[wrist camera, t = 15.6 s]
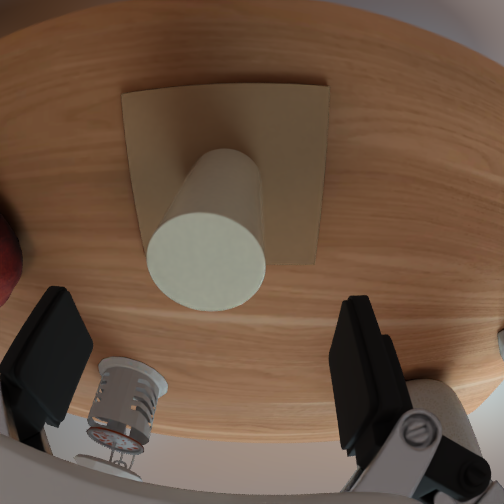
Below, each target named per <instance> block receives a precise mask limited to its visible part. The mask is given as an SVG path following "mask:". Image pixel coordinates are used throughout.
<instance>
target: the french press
mask: <svg viewBox="0 0 504 504" xmlns="http://www.w3.org/2000/svg"><path fill="white" fill-rule="evenodd" d="M98 366H99V373H100V375H101V376H102V378H101V382H100V384H101V385H100V384H99V387H98V390H97V392H98V393H97V392H96V396H95V398H94V400H95V402H94V401H93V405H92V407H91V409H90V413H89V416H88V419H87V421H88V424H89V425H90V426H91V427H90V428H89V429H88V430H87V431H86V432H87V434H88V435H89V437H90V438H91V439H93V440H94V441H96V442H98V444H99V443H100V444H101V445H104V447H105V446H106V447H107V448H109V449H111V450H112V452H111V456H110V460H109V461H106V460H103V459H100V458H96V457H93V456H89V455H82V454H78V455H76V456H75V457H74V459H75V461H76V462H77V464H78V465H81V466H84V467H87V468H90V469H94V470H97V471H100V472H104V473H107V474H111V475H115V476H119V477H123V478H127V479H131V480H136V481H140V482H142V479H141V478H140V476H138V475H137V474H136V473H134V472H132V471H131V470H130V469H131V467H132V465H133V461H134V457H135V455H139V454H141V453H143V452H144V447H143V446H142V445H145V444H146V443H148V442H149V438H150V431H151V429H152V422H153V419H154V413H155V410H156V405H157V401H158V398H159V397H161V396H162V395H164V394H165V393H167V389H168V385H167V383H166V381H165V379H164V377H163V376H161V375H160V374H159V373H158V372H157V371H156V370H154V369H153V368H151V367H149V366H147V365H145V364H143V363H141V362H139V361H135V360H132V359H129V358H125V357H109V358H106V359H102V361H101V362H100V363H99V365H98ZM99 389H101V391H102V393H100V392H99ZM97 397H98V398H99V399H100V402H98V401H97V400H96V398H97ZM133 399H134V400H133ZM136 400H138V401H136ZM131 405H135V406H137V407H136V410H132V409H131ZM153 407H155V409H153ZM150 414H151V415H153V418H152V417H151V415H150ZM92 417H95V418H97V419H99V420H101V421H106V422H108V423H107V426H104V425H100V424H98V423H95V422H94V420H93V419H92ZM148 422H149V423H151V426H150V427H149V424H148ZM126 424H127V425H129V426H131V431H130V435H129V436H127V435H126ZM115 450H116V451H120V452H121V457H120V460H119V461H118V460H117V461H114V462H113V463H112V462H111V461H112V457H113V453H114V451H115ZM123 453H126V454H132V455H133V459H132V462H131V465H130V467H129V469H127V465H126V463H125V462H123V461H121V460H122V458H123ZM115 462H118V465H117V464H115ZM120 463H123V464H124V465H125V467H122V466H120Z"/></svg>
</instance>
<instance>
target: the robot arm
mask: <svg viewBox="0 0 504 504" xmlns="http://www.w3.org/2000/svg"><path fill="white" fill-rule="evenodd" d="M92 349H93V341H92V339H91V337H90V335H89V333H88V331H87V329H86V327H85V325H84V323H83V320H82V318H81V316H80V314H79V312H78V310H77V308H76V305H75V303H74V301H73V299H72V296H71V294H70V292H68V291H67V289H66V288H65V287H60V286H50V287H49V288H48V289H47V291H46V292H45V293H44V295H43V296H42V298H41V299H40V301H39V302H38V304H37V305H36V307H35V308H34V310H33V311H32V313H31V314H30V316H29V317H28V319H27V320H26V322H25V323H24V325H23V326H22V328H21V330H20V331H19V333H18V335H17V336H16V338H15V339H14V341H13V343H12V344H11V346H10V348H9V350H8V351H7V353H6V355H5V356H4V358H3V360H2V362H1V364H0V373H1V374H0V504H504V488H503V487H502V486H501V485H500V484H499V483H498V481H494V482H493V481H492V480H491V470H490V466H489V464H488V463H487V461H486V460H485V459H483V458H482V457H481V456H479V455H477V454H475V453H474V452H472V451H470V450H468V449H466V448H465V447H463V446H461V445H459V444H458V443H456V442H454V441H453V440H451V439H449V438H447V437H446V436H444V435H442V425H441V423H440V420H439V419H438V418H437V416H436V415H435V414H433V413H432V412H431V411H429V410H426V409H423V408H415V409H413V405H412V402H411V398H410V395H409V392H408V388H407V385H406V382H405V379H404V375H403V372H402V369H401V366H400V363H399V360H398V357H397V354H396V351H395V348H394V345H393V342H392V340H391V338H390V336H389V335H386V334H385V335H381V332H380V329H379V326H378V323H377V320H376V317H375V314H374V311H373V309H372V306H371V303H370V300H369V298H368V296H367V295H360V296H349V298H348V300H344V301H343V302H342V306H341V310H340V314H339V318H338V322H337V326H336V330H335V333H334V337H333V341H332V345H331V348H330V352H329V366H330V373H331V379H332V385H333V392H334V399H335V406H336V413H337V420H338V428H339V435H340V443H341V448H342V449H343V450H345V449H347V456H356V462H357V465H358V466H359V467H358V469H357V470H356V472H355V473H354V474H353V476H352V477H351V478H350V480H349V481H348V482H347V484H346V485H345V486H344V487H343V489H342V490H341V491H340V492H339V493H319V494H304V495H303V494H301V495H245V494H226V493H213V492H203V491H195V490H187V489H179V488H173V487H167V486H161V485H155V484H150V483H145V482H140V481H136V480H131V479H127V478H123V477H119V476H115V475H111V474H107V473H104V472H100V471H97V470H94V469H90V468H87V467H84V466H81V465H78V464H75V463H71V462H69V461H66V460H63V459H60V458H58V457H55V456H53V454H52V451H51V448H50V445H49V442H48V439H47V436H46V433H45V430H44V424H45V422H46V423H47V424H48V425H51V426H54V427H57V428H58V427H59V425H60V422H62V421H63V420H64V418H65V416H66V413H67V410H68V408H69V405H70V403H71V400H72V397H73V395H74V392H75V390H76V387H77V385H78V383H79V380H80V378H81V375H82V373H83V370H84V368H85V366H86V363H87V361H88V359H89V357H90V354H91V352H92Z"/></svg>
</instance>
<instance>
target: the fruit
mask: <svg viewBox="0 0 504 504" xmlns="http://www.w3.org/2000/svg"><path fill="white" fill-rule="evenodd" d="M22 266H23V257H22V250H21V247H20V245H19V240H18V238H17V237H16V235H15V233H14V231H13V230H12V228H11V227H10V226H9V224H8V222H7V221H6V220H5V218H4V217H3V216H2V214H1V213H0V307H1V306H2V305H3V304H4V303H5V302H6V301H7V300H8V298H9V296H10V294H11V292H12V291H13V289H14V287H15V286H16V284H17V283H18V281H19V279H20V277H21V274H22Z"/></svg>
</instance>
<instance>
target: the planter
mask: <svg viewBox="0 0 504 504" xmlns="http://www.w3.org/2000/svg"><path fill="white" fill-rule="evenodd" d="M406 385H407V388H408V392H409V395H410V398H411V402H412V405H413V409H415V408H423V409H426V410H429V411H431V412H432V413H433V414H435V415H436V416H437V418H438V419H439V420H440V423H441V425H442V435H444V436H446V437H447V438H449V439H451V440H453V441H454V442H456V443H458V444H459V445H461V446H463V447H465V448H466V449H468V450H470V451H472V452H474V453H475V454H477V455H479V456H481V457H482V454H481V451H480V447H479V445H478V442H477V439H476V437H475V434H474V432H473V429H472V426H471V424H470V421H469V419H468V416H467V414H466V412H465V410H464V408H463V405H462V403H461V401H460V400H459V398H458V397H457V395H456V393H455V392H454V391H453V389H452V388H451V387H449V386H448V385H447V384H445V383H443V382H440V381H437V380H432V379H415V380H410V381H406ZM358 467H359V466H358V465H357V469H358Z"/></svg>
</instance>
